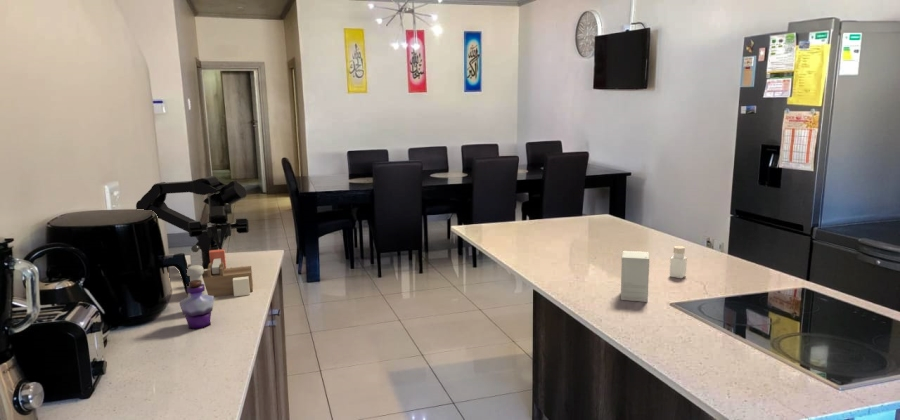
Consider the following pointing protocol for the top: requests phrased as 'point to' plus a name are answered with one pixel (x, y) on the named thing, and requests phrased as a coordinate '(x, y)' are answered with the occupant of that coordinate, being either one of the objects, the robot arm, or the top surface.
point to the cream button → (241, 286)
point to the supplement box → (635, 276)
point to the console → (225, 279)
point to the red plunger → (217, 260)
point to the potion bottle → (197, 306)
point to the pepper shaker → (678, 263)
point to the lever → (196, 256)
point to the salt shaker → (196, 275)
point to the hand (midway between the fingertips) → (220, 248)
